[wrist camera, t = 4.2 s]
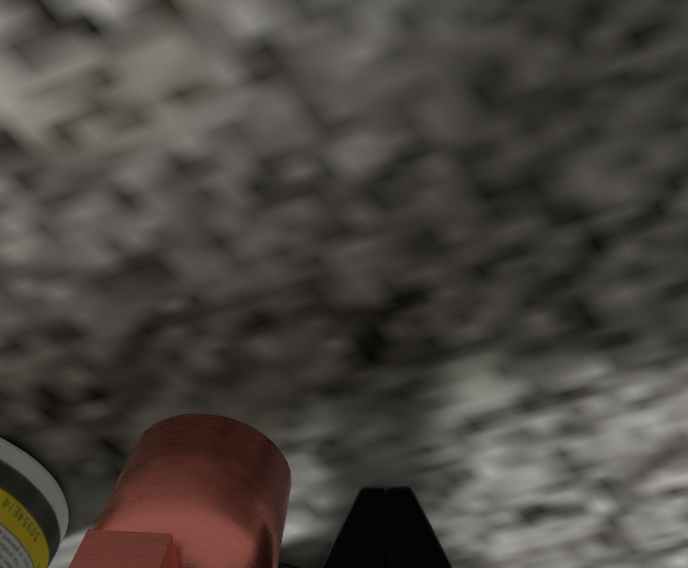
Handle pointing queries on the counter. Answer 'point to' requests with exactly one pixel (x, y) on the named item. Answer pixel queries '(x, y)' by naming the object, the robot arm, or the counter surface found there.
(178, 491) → the crank
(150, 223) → the counter surface
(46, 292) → the counter surface
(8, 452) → the supplement bottle
